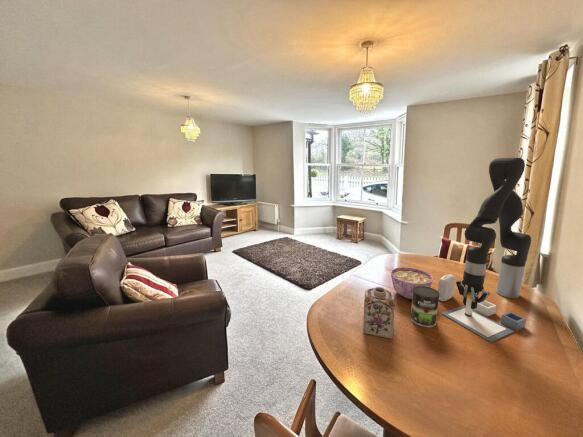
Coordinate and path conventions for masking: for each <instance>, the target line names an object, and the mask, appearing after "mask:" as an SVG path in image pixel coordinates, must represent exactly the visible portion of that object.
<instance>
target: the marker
mask: <svg viewBox="0 0 583 437" xmlns="http://www.w3.org/2000/svg"><path fill="white" fill-rule="evenodd" d="M471 303H472V296H471V293H468V294H467V300H466V306H465V315H466V316H469V317H471V316H472V313H473V311H474V309H471Z"/></svg>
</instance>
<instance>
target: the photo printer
mask: <svg viewBox="0 0 583 437" xmlns="http://www.w3.org/2000/svg"><path fill="white" fill-rule="evenodd" d="M455 284H456V277H455V276H454V275H453V274H450V273H449V274H445V275H443V276H442V277H441V278H440V279H439V281H438V285H437V286H438V288H437V291H438V292H439V294H440V296H439V302H446V301H448V300H450V299H451V298H453V296H454V293H455Z"/></svg>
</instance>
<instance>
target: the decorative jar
mask: <svg viewBox="0 0 583 437" xmlns="http://www.w3.org/2000/svg"><path fill="white" fill-rule="evenodd" d="M363 299H364V300H363V301H364V302H363V321H362V322H363V325H362V326H363V327H362V329H363V331H362V333H363V335H364V334H366V335H369V336H370V335H371V336H376V337H381V338H386V339H393V337H394V336H393V335H394V325H395V324H394V323H395V307H396V304H395V302H396V301H395V294H394V293H393V292H391V291H390V290H388V289H386V288H384V287H381V286H377V287H376V286H375V287H373V288H368V289H365V292H364V298H363Z"/></svg>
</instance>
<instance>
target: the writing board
mask: <svg viewBox="0 0 583 437" xmlns="http://www.w3.org/2000/svg"><path fill="white" fill-rule="evenodd" d="M465 307H466V306H465V305H460V306H458V307H454V308H452V309H449V310H446V311H443V312H441V315H442V316H444V317H446V318H448V319H450V320H452V322H455V323H457V324H458V325H460V326H462V327H463V328H464V329H467V330H468V331H470V332H472V333H474V334H475V335H477V336H479V337H481V338H482V339H484V340H485V341H488V342H489V343H493V342H496V341H498V340H500V339H502V338H504V337H507V336H509V335H511V334H513V333H515V330H513V329H511V328H509V327H507V326H505V325H503V324H501V323H500V322H498V321H497V322H496V321H495V320H493V319H491V318H489V317H487V316H485V315H483V314H481V313H479V312H477V311H475V310H473V313H472V316H471V317H469V316H466V315H465Z"/></svg>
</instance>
